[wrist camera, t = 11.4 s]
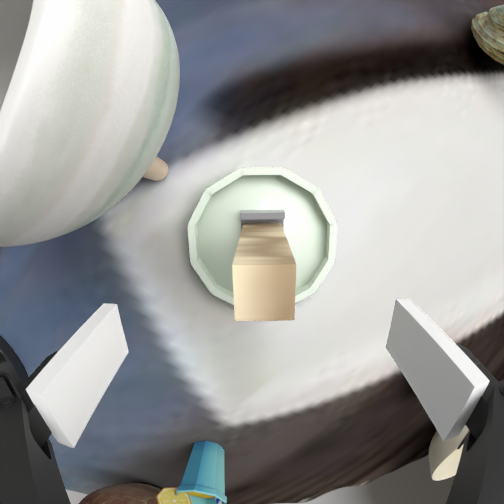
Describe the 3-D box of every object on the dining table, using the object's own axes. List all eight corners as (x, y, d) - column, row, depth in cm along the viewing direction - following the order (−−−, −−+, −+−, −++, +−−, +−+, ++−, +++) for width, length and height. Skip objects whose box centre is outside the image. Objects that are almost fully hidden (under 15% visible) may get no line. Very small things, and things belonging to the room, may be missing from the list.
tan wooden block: (244, 258, 28) (234, 320, 17) (243, 223, 27) (232, 265, 16) (280, 258, 28) (293, 320, 17) (280, 222, 27) (296, 264, 16)
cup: (254, 436, 38) (252, 519, 23) (257, 461, 40) (256, 533, 26) (167, 433, 38) (145, 508, 24) (178, 457, 40) (162, 525, 26)
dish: (198, 302, 31) (193, 313, 29) (189, 169, 27) (182, 169, 25) (327, 300, 31) (332, 311, 28) (333, 167, 27) (340, 167, 24)
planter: (56, 133, 26) (-108, 137, 4) (153, 28, 22) (35, -90, 1) (137, 232, 29) (-28, 348, 8) (252, 124, 26) (230, -10, 4)
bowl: (407, 425, 38) (425, 467, 28) (480, 373, 35) (508, 407, 25) (422, 453, 41) (436, 487, 31) (483, 411, 38) (503, 441, 29)
